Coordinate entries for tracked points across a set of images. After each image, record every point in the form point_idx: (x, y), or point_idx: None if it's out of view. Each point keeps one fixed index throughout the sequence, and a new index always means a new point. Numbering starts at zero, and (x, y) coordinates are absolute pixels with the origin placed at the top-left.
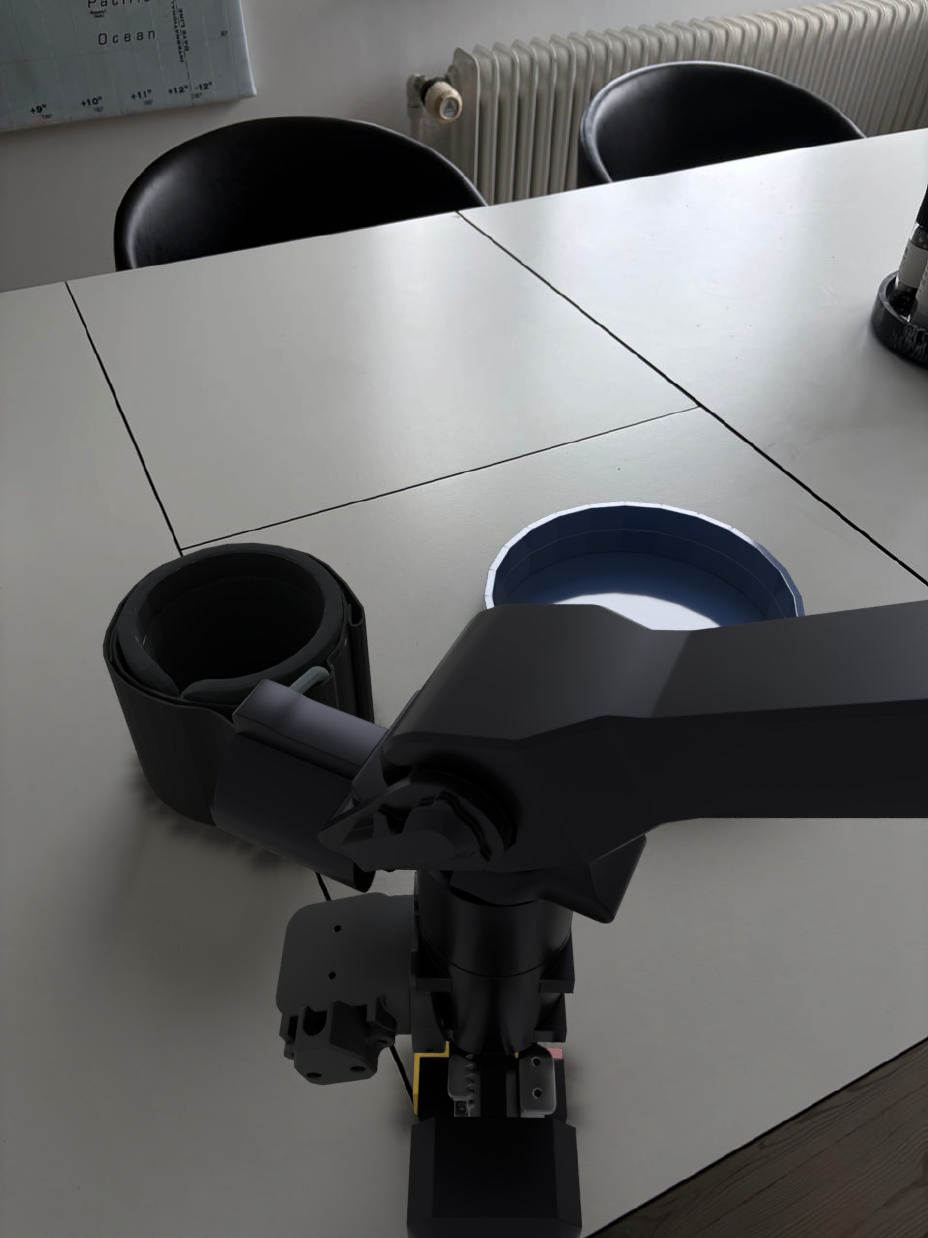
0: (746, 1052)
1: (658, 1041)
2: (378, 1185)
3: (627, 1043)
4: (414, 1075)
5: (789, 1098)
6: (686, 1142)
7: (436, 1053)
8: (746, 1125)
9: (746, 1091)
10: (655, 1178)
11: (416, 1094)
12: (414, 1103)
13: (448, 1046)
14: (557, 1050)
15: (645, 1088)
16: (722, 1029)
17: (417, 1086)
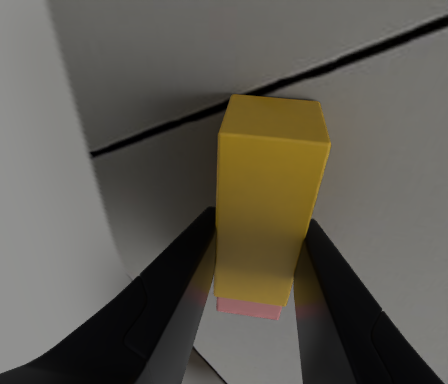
0: (271, 372)
1: (292, 336)
2: (115, 23)
3: (295, 319)
4: (258, 139)
5: (232, 378)
6: (199, 329)
7: (300, 181)
8: (213, 357)
9: (239, 364)
10: None
11: (218, 140)
12: (224, 115)
13: (309, 203)
14: (276, 317)
15: (248, 319)
16: (294, 368)
17: (235, 142)
